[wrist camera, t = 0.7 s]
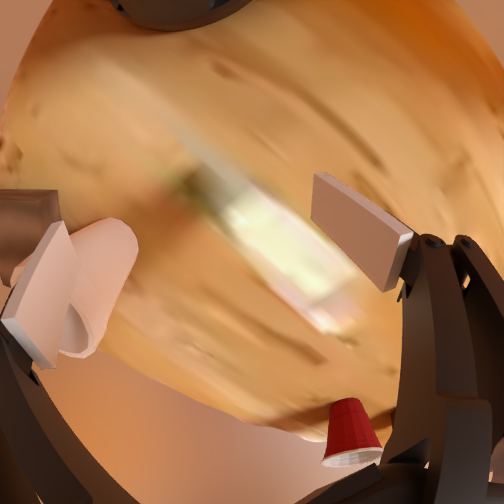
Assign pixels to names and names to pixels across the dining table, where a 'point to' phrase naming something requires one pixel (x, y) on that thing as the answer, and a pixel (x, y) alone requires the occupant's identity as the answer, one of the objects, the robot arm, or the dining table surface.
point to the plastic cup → (350, 436)
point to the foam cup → (94, 282)
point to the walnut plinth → (24, 225)
